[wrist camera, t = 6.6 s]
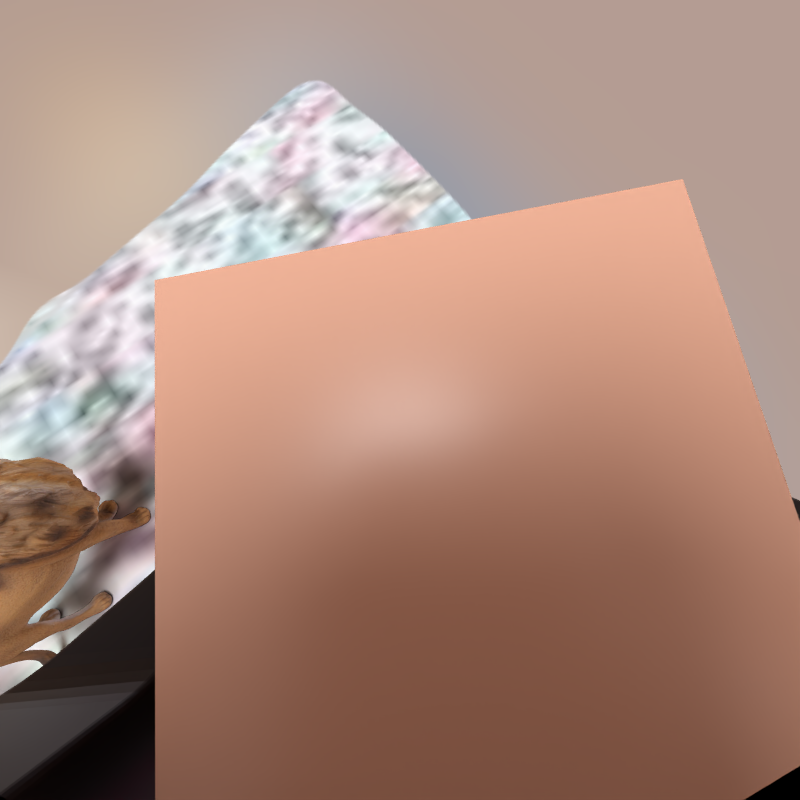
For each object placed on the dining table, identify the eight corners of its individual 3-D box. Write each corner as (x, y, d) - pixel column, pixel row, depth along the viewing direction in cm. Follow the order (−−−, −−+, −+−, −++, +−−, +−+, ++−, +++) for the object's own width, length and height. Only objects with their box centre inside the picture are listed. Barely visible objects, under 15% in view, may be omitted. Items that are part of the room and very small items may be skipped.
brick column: (497, 508, 14) (922, 885, 2) (386, 522, 14) (154, 910, 2) (476, 398, 14) (681, 179, 3) (373, 414, 15) (154, 280, 3)
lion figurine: (111, 444, 23) (-89, 445, 14) (172, 463, 22) (4, 478, 13) (34, 649, 21) (-245, 796, 13) (98, 677, 21) (-149, 853, 12)
